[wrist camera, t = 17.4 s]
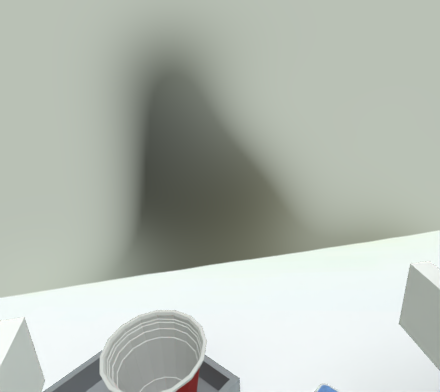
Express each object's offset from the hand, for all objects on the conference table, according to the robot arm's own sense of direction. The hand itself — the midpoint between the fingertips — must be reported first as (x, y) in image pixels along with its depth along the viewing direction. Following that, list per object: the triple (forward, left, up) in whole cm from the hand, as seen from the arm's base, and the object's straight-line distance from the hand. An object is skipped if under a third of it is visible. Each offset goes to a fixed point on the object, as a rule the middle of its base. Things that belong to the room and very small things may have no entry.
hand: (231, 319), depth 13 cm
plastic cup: (-8, -18, -31) cm, 37 cm away
